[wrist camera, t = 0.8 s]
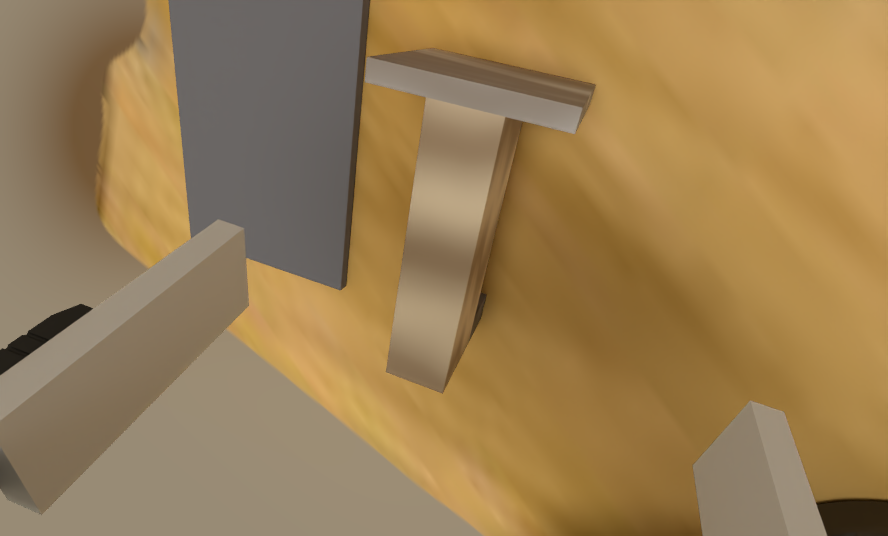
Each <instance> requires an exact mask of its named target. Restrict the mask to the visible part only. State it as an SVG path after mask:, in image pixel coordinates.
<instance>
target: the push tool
mask: <svg viewBox="0 0 888 536" xmlns="http://www.w3.org/2000/svg"><path fill="white" fill-rule="evenodd" d="M365 82H366V83H370V84H374V85H378V86H383V87H387V88H391V89H395V90H399V91H403V92H407V93H411V94H415V95H419V96H423V97H426V102H425V108H424V115H423V122H422V129H421V136H420V143H419V149H418V156H417V163H416V170H415V177H414V184H413V190H412V197H411V204H410V211H409V218H408V225H407V232H406V238H405V245H404V252H403V259H402V266H401V273H400V279H399V286H398V293H397V300H396V307H395V314H394V321H393V327H392V334H391V341H390V348H389V355H388V362H387V368H386V372H387V373H390V374H392V375H395V376H398V377H400V378H403V379H406V380H408V381H411V382H414V383H416V384H419V385H422V386H424V387H427V388H429V389H432V390H435V391H437V392H440V393H443V392H444V390H445V388H446V386H447V384H448V382H449V380H450V378H451V376H452V374H453V372H454V370H455V368H456V366H457V364H458V362H459V360H460V358H461V356H462V354H463V352H464V350H465V348H466V346H467V345H468V343H469V341H470V339H471V337H472V335H473V333H474V331H475V329H476V327H477V325H478V323H479V321H480V319H481V315H482V311H483V307H484V303H485V299H486V295H487V294H484V293H481V289H482V285H483V281H484V277H485V273H486V269H487V264H488V260H489V256H490V252H491V248H492V244H493V240H494V236H495V232H496V228H497V224H498V219H499V215H500V211H501V207H502V203H503V199H504V195H505V191H506V187H507V183H508V179H509V175H510V170H511V166H512V162H513V158H514V154H515V150H516V146H517V142H518V138H519V134H520V130H521V125H522V121H524V122H528V123H532V124H536V125H540V126H544V127H548V128H552V129H556V130H560V131H564V132H568V133H573V134H575V133H576V131H577V129H578V127H579V125H580V123H581V121H582V119H583V117H584V115H585V113H586V111H587V109H588V107H589V105H590V102H591V99H592V96H593V92H594V89H595V86H596V85H595V84H591V83H586V82H582V81H577V80H573V79H568V78H564V77H560V76H555V75H551V74H546V73H542V72H537V71H533V70H528V69H524V68H520V67H515V66H511V65H506V64H502V63H497V62H493V61H488V60H484V59H479V58H475V57H471V56H466V55H462V54H457V53H453V52H448V51H444V50H439V49H435V48H430V49H422V50H415V51H407V52H400V53H392V54H385V55H378V56H370V57H367V63H366V74H365Z"/></svg>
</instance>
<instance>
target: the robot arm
mask: <svg viewBox="0 0 888 536" xmlns="http://www.w3.org/2000/svg"><path fill="white" fill-rule="evenodd" d="M248 306H249V298H248V283H247V267H246V251H245V235H244V228H242V227H239V226H236V225H234V224H231V223H228V222H225V221H222V220H219V219H218V220H216V221H215V222H214V223H212V224H211V225H210V226H208V227H207V228H205V229H204V230H203V231H201V232H200V233H198V234H197V235H196V236H194V237H193V238H191V239H190V240H189V241H187V242H186V243H184V244H183V245H182V246H180V247H179V248H177V249H176V250H175V251H173V252H172V253H170V254H169V255H168V256H166V257H165V258H163V259H162V260H161V261H159V262H158V263H156V264H155V265H154V266H152V267H151V268H150V269H148V270H147V271H145V272H144V273H143V274H141V275H140V276H138V277H137V278H136V279H134V280H133V281H132V282H130V283H129V284H127V285H126V286H125V287H123V288H122V289H120V290H119V291H118V292H116V293H115V294H113V295H112V296H110V297H109V298H108V299H106V300H105V301H104V302H102V303H101V304H99V305H98V306H97V307H95V308H94V309H93V308H91V307H88V306H85V305H83V304H79V305H77V306H75V307H72V308H69V309H67V310H64V311H61V312H59V313H56V314H54V315H51V316H50V317H49V318H47V319H46V320H44V321H43V322H41V323H40V324H38V325H37V326H35V327H34V328H32V329H31V330H29V331H28V333H27V335H22V336H20V337H19V338H17V339H16V340H15V341H13V342H11V343H10V344H9V345H8V347H7V348H6V349H1V350H0V489H1V490H2V492H3V493H4V495H5V496H6V498H7V499H8V500H9V501H12V502H14V503H16V504H18V505H21V506H23V507H25V508H28V509H30V510H32V511H34V512H37V513H39V514H41V515H42V514H43V513H44V512H45V511H46V510H47V509H48V508H49V507H50V506H51V505H52V504H53V503H54V502H55V501H56V500H57V499H58V498H59V497H60V496H61V495H62V494H63V493H64V492H65V491H66V490H67V489H68V488H69V487H70V486H71V485H72V484H73V483H74V482H75V481H76V480H77V479H78V478H79V477H80V475H82V474H83V473H84V472H85V471H86V469H88V468H89V466H90V465H92V464H93V462H94V461H95V460H96V459H97V458H98V457H99V456H100V455H101V454H102V453H103V452H104V451H105V450H106V449H107V448H108V447H109V446H110V445H111V444H112V443H113V442H114V441H115V440H116V439H117V438H118V437H119V436H120V435H121V434H122V433H123V432H124V431H125V430H126V429H127V428H128V427H129V426H130V425H131V424H132V423H133V422H134V421H135V420H136V419H137V418H138V417H139V416H140V415H141V414H142V413H143V412H144V411H145V410H146V409H147V408H148V407H149V406H150V405H151V404H152V403H153V402H154V401H155V400H156V399H157V398H158V397H159V396H160V395H161V394H162V393H163V392H164V391H165V390H166V389H167V387H169V386H170V385H171V384H172V383H173V382H174V380H176V379H177V378H178V377H179V376H180V374H182V373H183V372H184V371H185V370H186V369H187V368H188V366H189V365H190V364H191V363H192V362H193V361H194V360H195V359H196V358H197V357H198V356H199V355H200V354H201V353H202V352H203V351H204V350H205V349H206V348H207V347H208V346H209V345H210V344H211V343H212V342H213V341H214V340H215V339H216V338H217V337H218V336H219V335H220V334H221V333H222V332H223V331H224V330H225V329H226V328H227V327H228V326H229V325H230V324H231V323H232V322H233V321H234V320H235V319H236V318H237V317H238V316H239V315H240V314H241V313H242V312H243V311H244V310H245V309H246V308H247V307H248ZM693 471H694V478H695V485H696V492H697V499H698V506H699V513H700V521H701V528H702V535H703V536H888V502H875V501H845V502H833V503H826V504H819V505H816V502H815V499H814V496H813V494H812V491H811V488H810V485H809V482H808V479H807V476H806V473H805V471H804V468H803V465H802V462H801V459H800V456H799V453H798V451H797V448H796V445H795V442H794V439H793V436H792V433H791V430H790V428H789V425H788V422H787V419H786V416H785V413H784V412H783V411H780V410H777V409H774V408H771V407H768V406H765V405H762V404H759V403H756V402H753V401H749V402H748V404H747V405H746V406H745V407H744V408H743V409H742V410H741V412H740V413H739V414H738V415H737V416H736V417H735V418H734V419H733V421H732V422H731V423H730V424H729V425H728V426H727V427H726V428H725V430H724V431H723V432H722V433H721V434H720V435H719V436H718V437H717V439H716V440H715V441H714V442H713V443H712V444H711V445H710V446H709V448H708V449H707V450H706V451H705V452H704V453H703V454H702V455H701V457H700V458H699V459H698V460H697V461H696V462H695V463H694V464H693Z"/></svg>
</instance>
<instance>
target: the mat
mask: <svg viewBox="0 0 888 536" xmlns="http://www.w3.org/2000/svg"><path fill="white" fill-rule="evenodd" d="M369 3H370V0H169V10H170V21H171V31H172V42H173V52H174V63H175V73H176V84H177V95H178V105H179V116H180V126H181V137H182V147H183V158H184V168H185V179H186V190H187V200H188V211H189V221H190V232H191V238H193V237H194V236H196V235H197V234H198V233H200V232H201V231H203V230H204V229H205V228H207V227H208V226H210V225H211V224H212V223H214V222H215V221H216V220H218V219H219V220H222V221H225V222H228V223H231V224H234V225H236V226H239V227H242V228H244V235H245V251H246V258H249V259H252V260H254V261H257V262H260V263H263V264H266V265H269V266H272V267H275V268H277V269H280V270H283V271H286V272H289V273H292V274H295V275H298V276H301V277H303V278H306V279H309V280H312V281H315V282H318V283H321V284H324V285H326V286H329V287H332V288H335V289H338V290H342V289H343V288H344V287H345V286H346V280H347V268H348V256H349V244H350V232H351V220H352V208H353V196H354V184H355V172H356V160H357V148H358V136H359V124H360V112H361V100H362V88H363V76H364V64H365V51H366V39H367V27H368V15H369Z"/></svg>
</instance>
